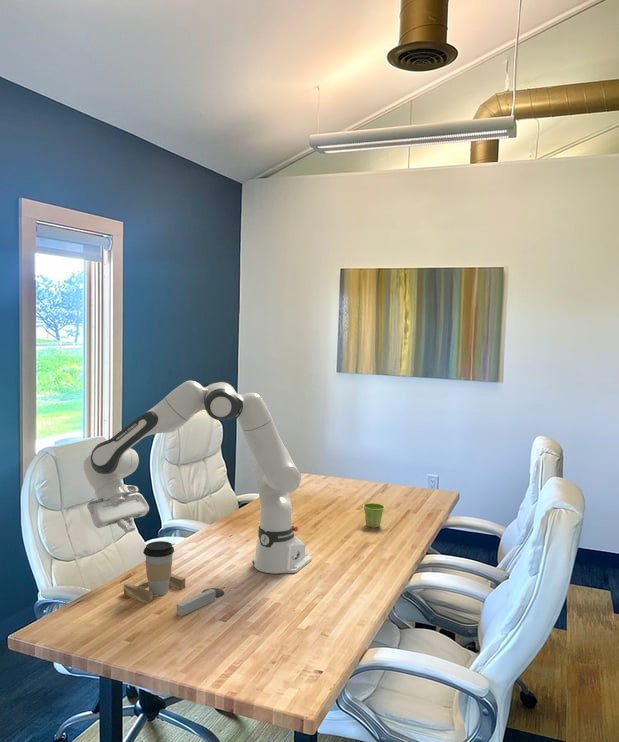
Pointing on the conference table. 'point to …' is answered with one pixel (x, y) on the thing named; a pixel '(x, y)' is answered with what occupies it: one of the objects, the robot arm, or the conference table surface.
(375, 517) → the plant pot
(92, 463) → the robot arm
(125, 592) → the oak cubby
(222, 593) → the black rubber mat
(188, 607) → the bar
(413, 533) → the conference table surface
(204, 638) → the conference table surface
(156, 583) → the coffee cup
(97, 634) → the conference table surface
